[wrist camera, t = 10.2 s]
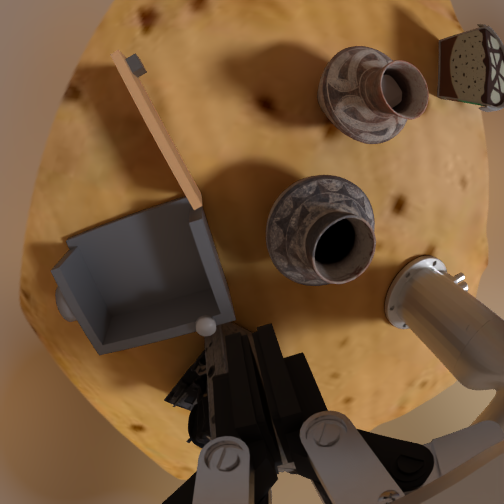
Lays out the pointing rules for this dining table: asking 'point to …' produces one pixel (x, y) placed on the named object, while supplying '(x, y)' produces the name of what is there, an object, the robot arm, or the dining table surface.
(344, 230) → the pottery
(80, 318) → the grey open drawer box
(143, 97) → the door
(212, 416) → the vintage camera
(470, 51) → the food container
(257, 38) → the dining table surface
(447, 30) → the dining table surface
